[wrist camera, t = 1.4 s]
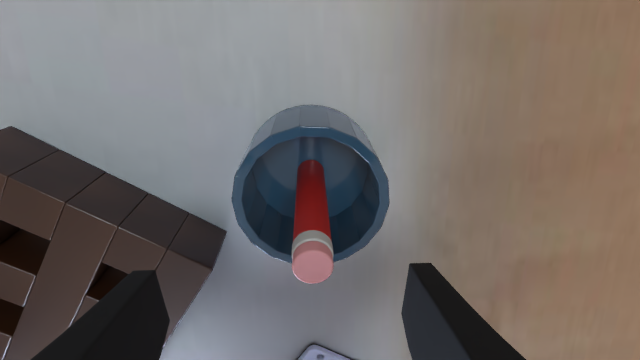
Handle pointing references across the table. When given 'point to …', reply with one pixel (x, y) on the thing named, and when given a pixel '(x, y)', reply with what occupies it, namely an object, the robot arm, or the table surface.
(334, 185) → the cup
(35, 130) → the table surface
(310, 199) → the pencil
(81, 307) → the pencil stand
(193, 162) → the table surface
